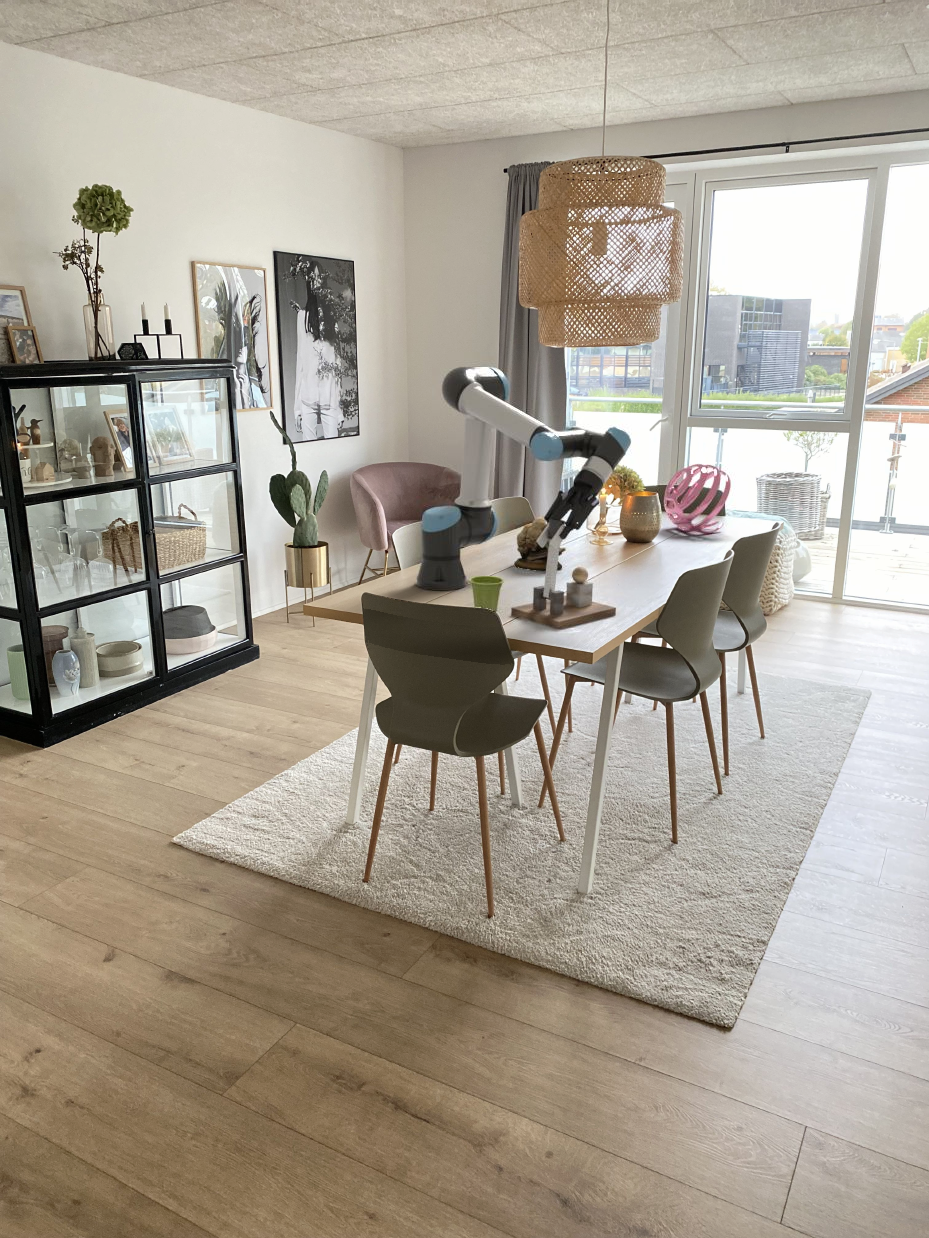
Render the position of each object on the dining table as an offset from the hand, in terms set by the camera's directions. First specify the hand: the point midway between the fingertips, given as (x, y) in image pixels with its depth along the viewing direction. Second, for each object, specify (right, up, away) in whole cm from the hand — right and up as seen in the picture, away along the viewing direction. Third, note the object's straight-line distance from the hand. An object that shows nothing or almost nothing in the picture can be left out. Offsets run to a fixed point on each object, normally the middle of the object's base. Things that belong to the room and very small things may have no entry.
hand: (546, 545), depth 246 cm
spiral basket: (+70, +16, +132) cm, 150 cm away
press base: (+6, -18, +10) cm, 21 cm away
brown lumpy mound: (+4, -2, +68) cm, 68 cm away
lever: (+1, -13, +5) cm, 14 cm away
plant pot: (-15, -17, +14) cm, 27 cm away
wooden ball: (+10, -9, +12) cm, 18 cm away
